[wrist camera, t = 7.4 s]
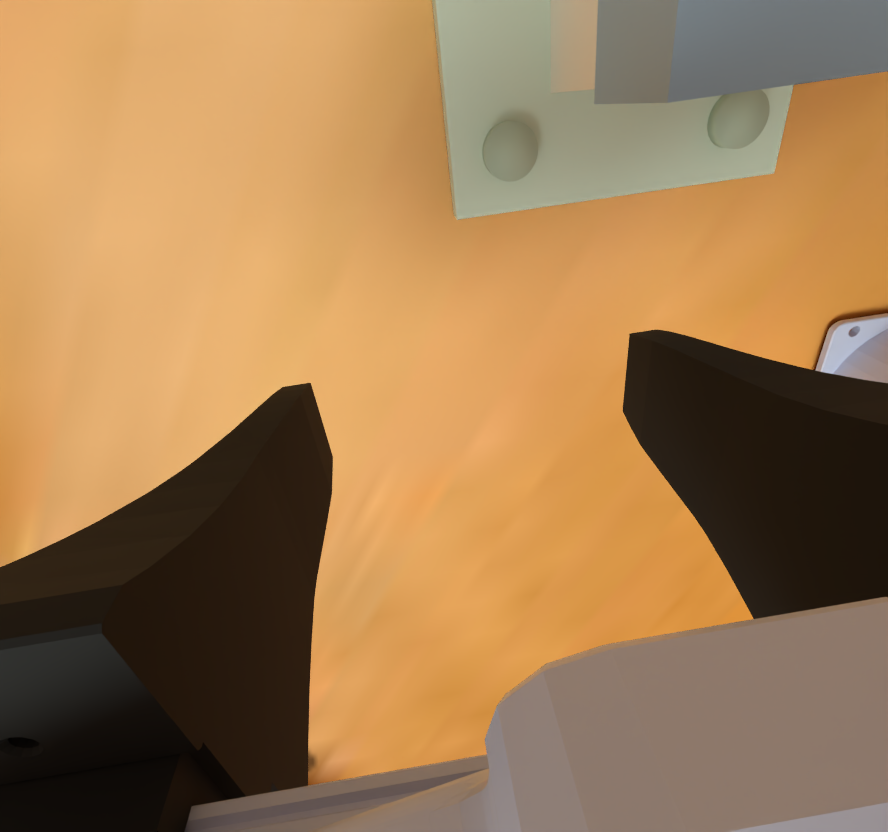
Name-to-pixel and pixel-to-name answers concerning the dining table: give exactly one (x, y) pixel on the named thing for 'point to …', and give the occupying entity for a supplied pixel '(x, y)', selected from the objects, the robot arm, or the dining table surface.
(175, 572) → the robot arm
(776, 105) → the baseplate
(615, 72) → the blue block
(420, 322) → the dining table surface
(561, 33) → the cream block
